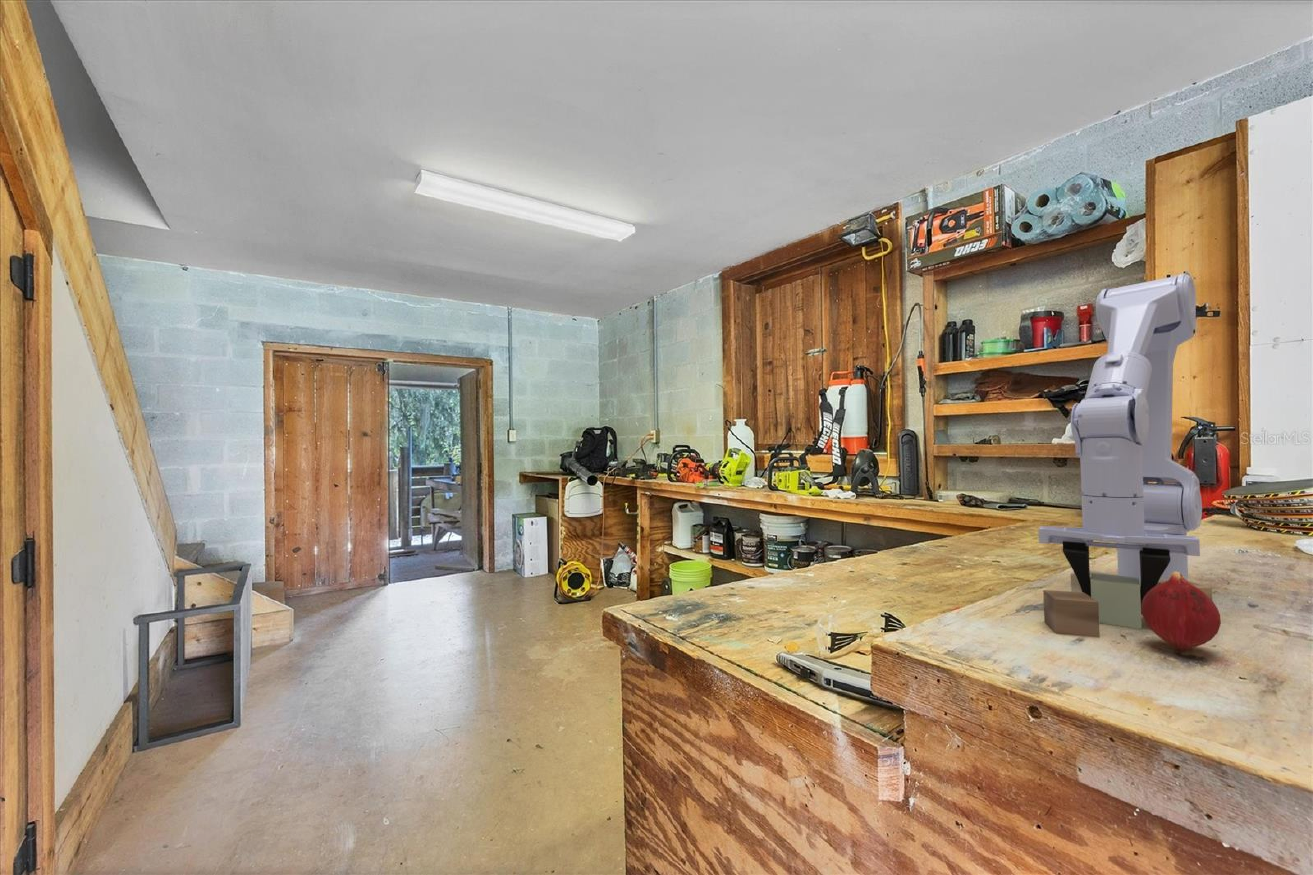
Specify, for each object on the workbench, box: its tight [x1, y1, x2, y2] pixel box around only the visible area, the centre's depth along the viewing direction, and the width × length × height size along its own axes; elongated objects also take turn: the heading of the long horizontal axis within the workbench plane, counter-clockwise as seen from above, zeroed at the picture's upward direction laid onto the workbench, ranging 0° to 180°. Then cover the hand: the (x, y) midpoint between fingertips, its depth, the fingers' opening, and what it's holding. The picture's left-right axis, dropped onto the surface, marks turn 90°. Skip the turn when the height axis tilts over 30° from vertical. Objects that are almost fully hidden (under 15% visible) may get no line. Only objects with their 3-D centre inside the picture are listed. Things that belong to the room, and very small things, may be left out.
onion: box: [1141, 571, 1222, 652], centre depth 55 cm, size 6×6×8 cm
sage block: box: [1091, 573, 1142, 630], centre depth 64 cm, size 4×4×5 cm
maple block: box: [1070, 570, 1119, 592], centre depth 71 cm, size 4×4×4 cm
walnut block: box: [1042, 589, 1101, 639], centre depth 61 cm, size 4×4×4 cm
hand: (1115, 608), depth 64 cm, fingers closed on sage block, 4 cm apart
